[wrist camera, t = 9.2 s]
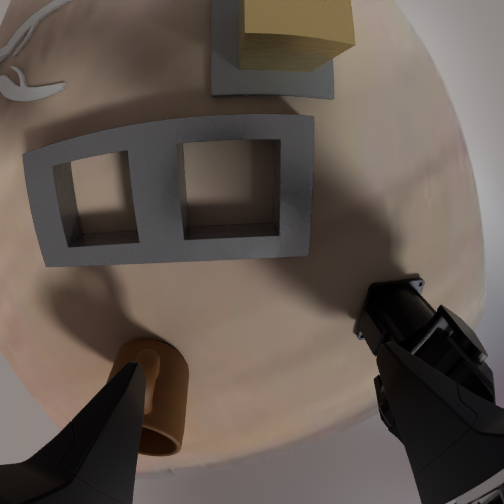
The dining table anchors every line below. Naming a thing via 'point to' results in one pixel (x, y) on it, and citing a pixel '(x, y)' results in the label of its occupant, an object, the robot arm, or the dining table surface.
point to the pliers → (5, 83)
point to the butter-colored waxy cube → (293, 33)
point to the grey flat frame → (172, 193)
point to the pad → (256, 81)
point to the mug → (159, 394)
